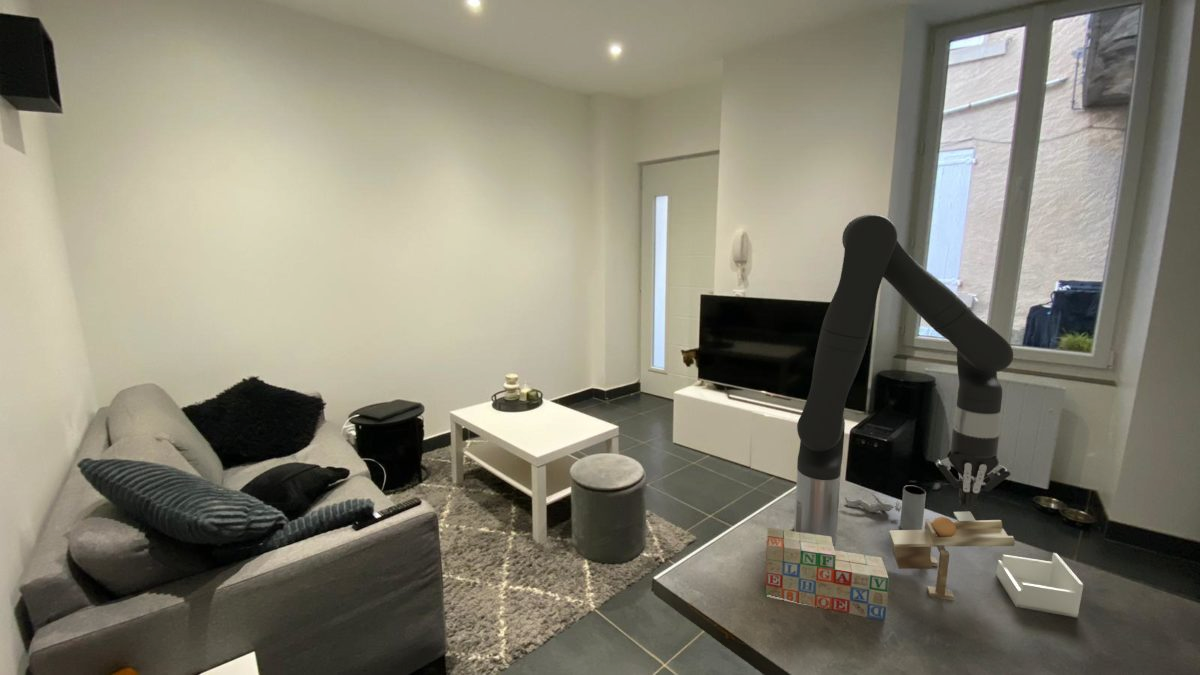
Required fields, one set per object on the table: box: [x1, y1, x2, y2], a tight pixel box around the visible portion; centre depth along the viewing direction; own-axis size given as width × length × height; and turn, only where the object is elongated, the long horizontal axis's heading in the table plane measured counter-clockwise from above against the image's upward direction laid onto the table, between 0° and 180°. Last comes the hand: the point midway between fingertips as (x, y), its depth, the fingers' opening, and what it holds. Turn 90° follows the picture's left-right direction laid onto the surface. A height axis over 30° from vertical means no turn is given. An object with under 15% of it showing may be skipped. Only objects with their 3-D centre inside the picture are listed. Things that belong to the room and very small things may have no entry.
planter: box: [899, 484, 927, 530], centre depth 116 cm, size 4×4×10 cm
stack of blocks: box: [765, 527, 889, 621], centre depth 95 cm, size 21×6×12 cm, turn 71°
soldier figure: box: [844, 492, 902, 514], centre depth 125 cm, size 8×5×12 cm
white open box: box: [995, 552, 1084, 618], centre depth 94 cm, size 9×9×7 cm
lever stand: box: [924, 520, 955, 601], centre depth 100 cm, size 4×12×10 cm, turn 160°
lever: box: [889, 510, 1016, 570], centre depth 100 cm, size 20×13×8 cm, turn 69°
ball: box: [932, 516, 956, 537], centre depth 98 cm, size 4×4×4 cm
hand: (967, 506), depth 102 cm, fingers closed
